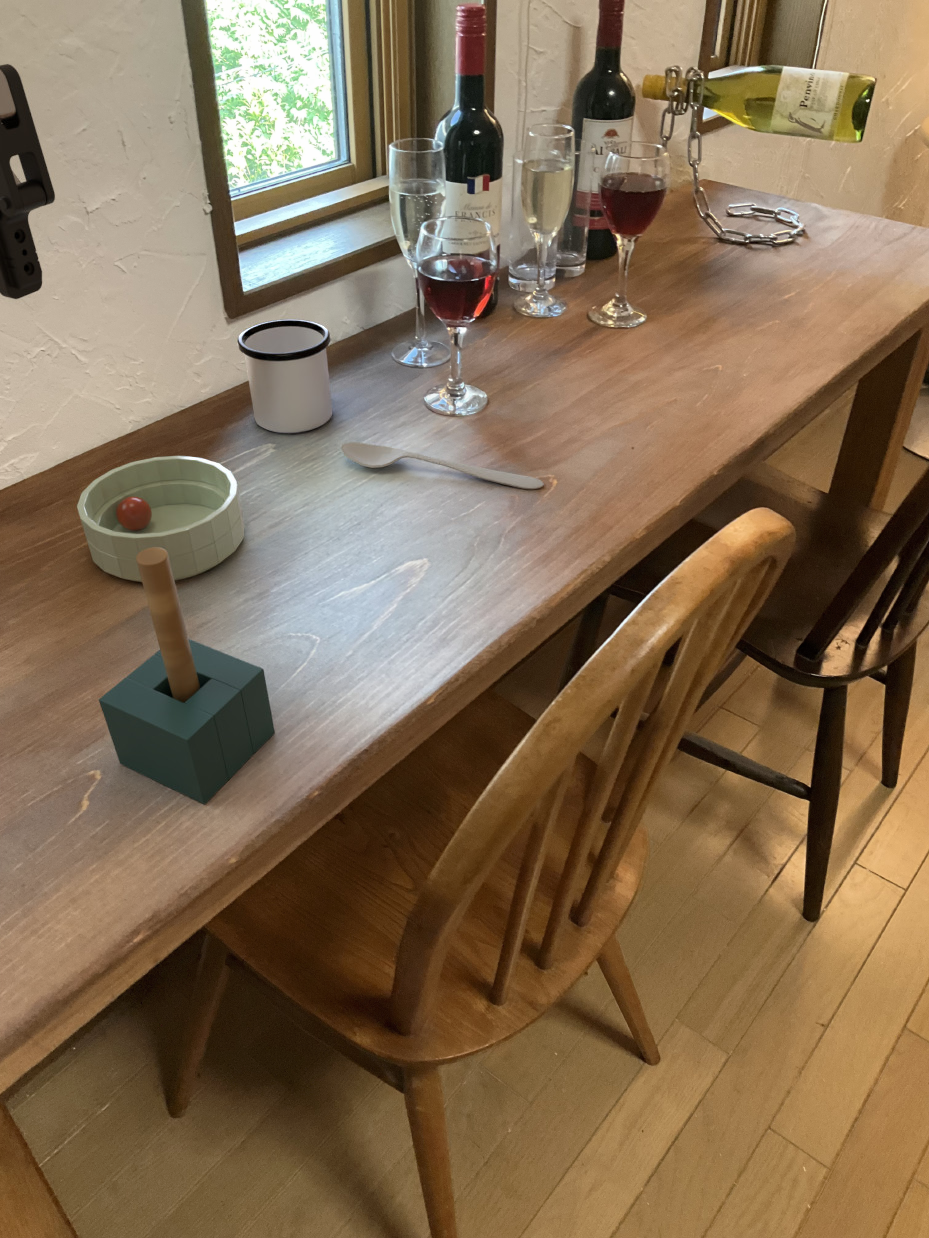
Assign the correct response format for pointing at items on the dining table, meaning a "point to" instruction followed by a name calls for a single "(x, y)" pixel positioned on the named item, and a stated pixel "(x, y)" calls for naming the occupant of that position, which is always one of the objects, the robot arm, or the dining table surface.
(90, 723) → the dining table surface
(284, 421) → the mug
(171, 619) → the stick
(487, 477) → the spoon
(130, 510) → the ball
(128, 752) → the holder
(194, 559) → the bowl
